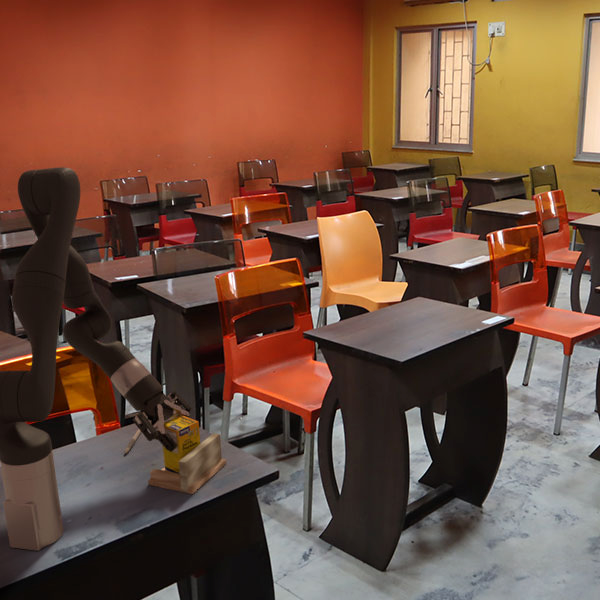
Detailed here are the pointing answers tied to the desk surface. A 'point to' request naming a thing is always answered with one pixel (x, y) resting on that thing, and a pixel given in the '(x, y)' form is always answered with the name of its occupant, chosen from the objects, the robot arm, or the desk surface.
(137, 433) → the pen
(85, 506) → the desk surface
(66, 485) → the desk surface
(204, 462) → the backstop pocket
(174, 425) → the supplement box
